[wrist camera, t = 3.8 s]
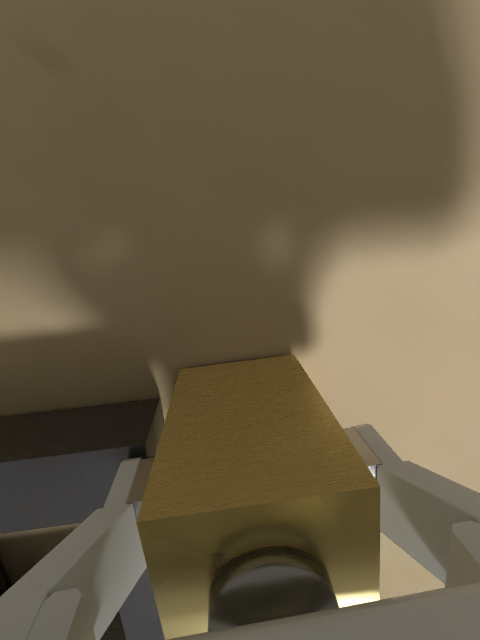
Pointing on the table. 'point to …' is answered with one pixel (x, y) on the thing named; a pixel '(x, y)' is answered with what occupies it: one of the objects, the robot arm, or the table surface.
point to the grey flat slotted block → (78, 482)
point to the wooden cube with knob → (256, 502)
